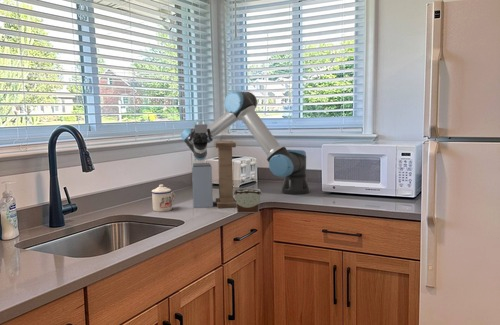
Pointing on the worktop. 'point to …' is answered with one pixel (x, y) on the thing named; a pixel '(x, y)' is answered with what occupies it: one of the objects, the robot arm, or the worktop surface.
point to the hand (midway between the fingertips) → (200, 124)
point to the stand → (225, 174)
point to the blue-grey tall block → (202, 185)
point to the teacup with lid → (162, 199)
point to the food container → (247, 200)
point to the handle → (200, 128)
